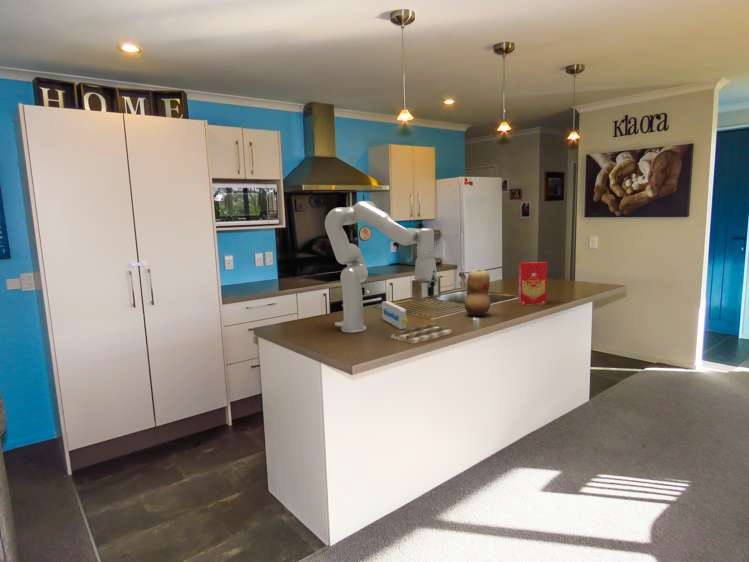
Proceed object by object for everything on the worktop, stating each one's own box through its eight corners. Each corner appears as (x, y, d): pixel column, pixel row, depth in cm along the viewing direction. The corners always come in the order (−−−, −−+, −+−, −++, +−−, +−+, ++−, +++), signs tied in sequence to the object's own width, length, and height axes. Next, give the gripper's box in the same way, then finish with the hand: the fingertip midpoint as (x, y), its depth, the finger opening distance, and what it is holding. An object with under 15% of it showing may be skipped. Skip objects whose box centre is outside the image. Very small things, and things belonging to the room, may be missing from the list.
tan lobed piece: (478, 319, 249) (478, 272, 246) (459, 315, 260) (459, 269, 257) (495, 315, 257) (496, 269, 254) (476, 311, 268) (477, 267, 265)
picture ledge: (412, 343, 207) (411, 337, 207) (390, 337, 218) (390, 331, 218) (452, 333, 223) (452, 326, 223) (431, 328, 234) (431, 322, 234)
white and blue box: (380, 319, 257) (380, 301, 256) (387, 318, 258) (386, 300, 257) (403, 332, 227) (402, 312, 226) (410, 332, 228) (410, 311, 227)
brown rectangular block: (419, 301, 214) (418, 281, 212) (411, 300, 218) (411, 280, 216) (441, 297, 222) (440, 278, 221) (433, 295, 226) (432, 277, 225)
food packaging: (520, 305, 282) (521, 263, 279) (518, 303, 288) (519, 262, 284) (546, 304, 282) (547, 262, 278) (543, 303, 287) (544, 261, 283)
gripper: (406, 255, 221) (407, 293, 224) (433, 257, 208) (434, 298, 211) (418, 254, 226) (419, 291, 229) (445, 255, 213) (445, 295, 215)
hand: (426, 294), depth 220 cm, fingers closed on brown rectangular block, 5 cm apart
